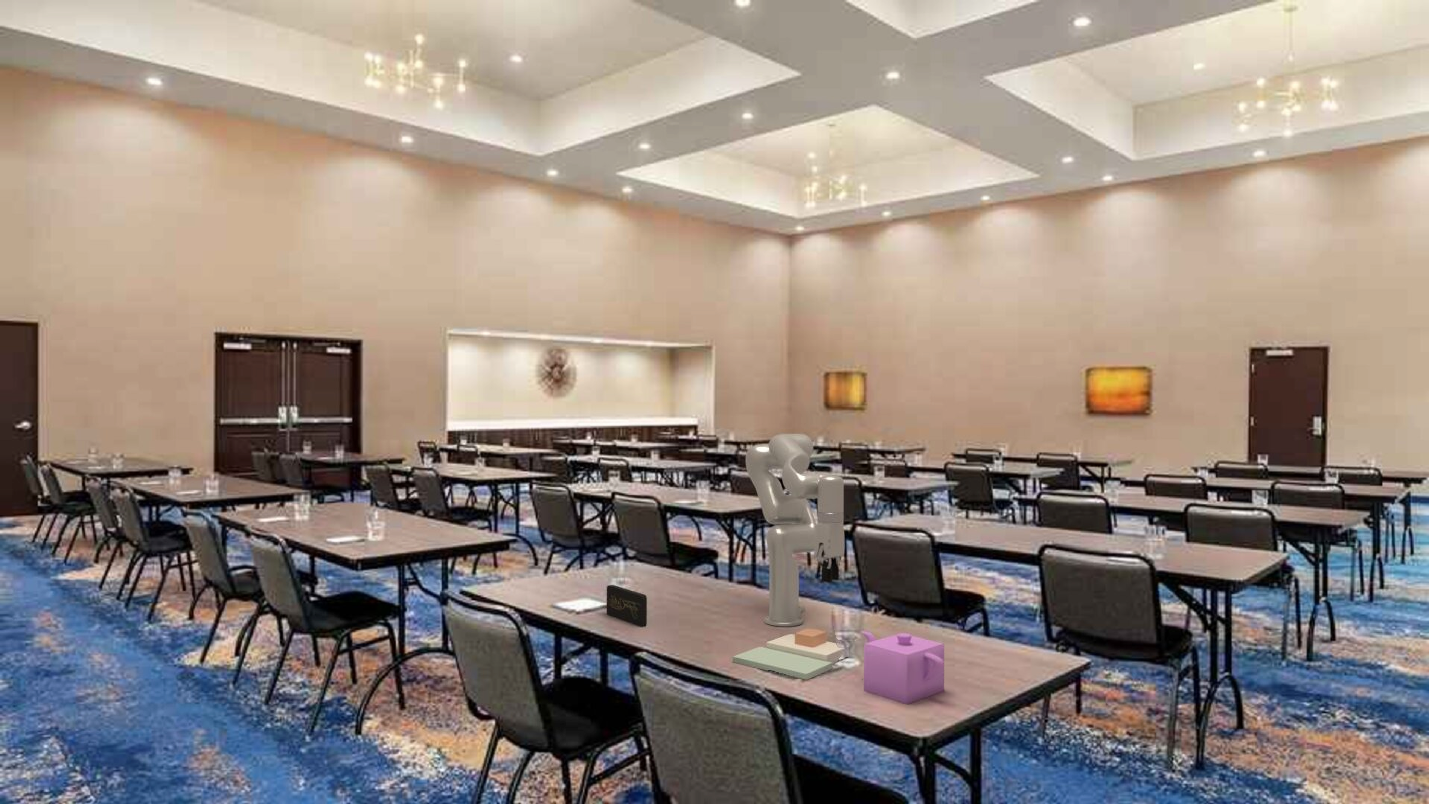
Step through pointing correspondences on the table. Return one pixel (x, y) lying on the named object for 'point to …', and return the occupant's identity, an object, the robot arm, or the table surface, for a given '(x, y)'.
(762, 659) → the sage mat
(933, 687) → the teapot
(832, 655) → the plate
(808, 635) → the terracotta tile
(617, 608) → the nameplate
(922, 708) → the table surface
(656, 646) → the table surface
